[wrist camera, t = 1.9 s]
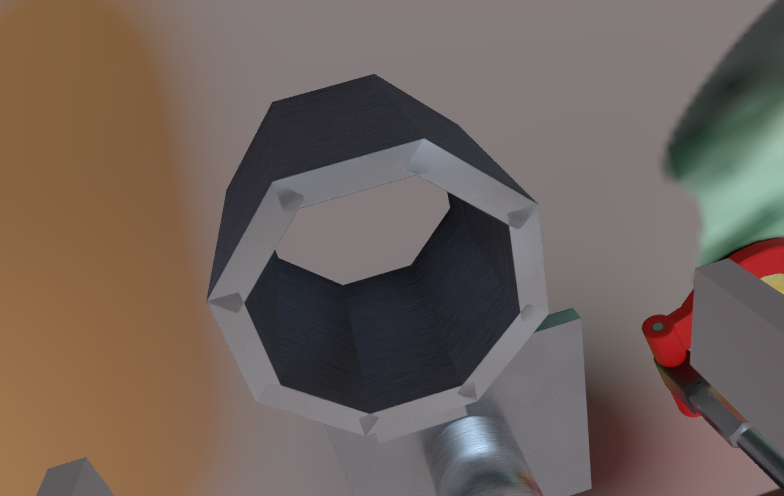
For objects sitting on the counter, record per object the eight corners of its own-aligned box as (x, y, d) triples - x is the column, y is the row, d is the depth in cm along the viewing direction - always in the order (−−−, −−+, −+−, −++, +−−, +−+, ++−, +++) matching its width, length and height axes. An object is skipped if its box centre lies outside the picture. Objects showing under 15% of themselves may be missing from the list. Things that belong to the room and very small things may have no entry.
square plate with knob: (313, 386, 24) (326, 528, 18) (572, 307, 25) (665, 420, 19) (377, 543, 30) (402, 686, 25) (584, 476, 31) (657, 601, 25)
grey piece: (198, 122, 18) (162, 212, 12) (445, 54, 19) (528, 108, 13) (299, 366, 24) (309, 511, 18) (488, 309, 24) (560, 432, 18)
